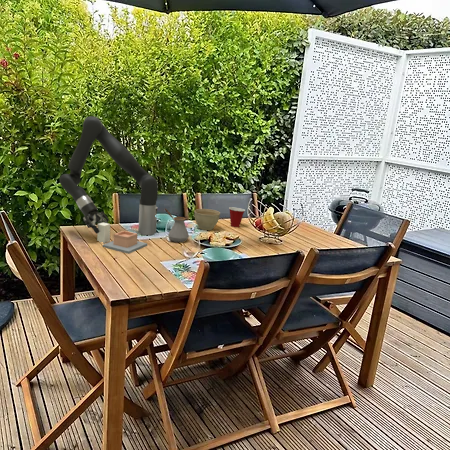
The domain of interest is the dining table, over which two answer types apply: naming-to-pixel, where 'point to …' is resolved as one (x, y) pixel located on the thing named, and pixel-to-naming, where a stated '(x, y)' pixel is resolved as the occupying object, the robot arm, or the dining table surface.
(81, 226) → the dining table surface
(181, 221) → the coffee pot
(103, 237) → the tall brick
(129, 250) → the tower base
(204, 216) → the planter bowl
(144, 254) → the dining table surface
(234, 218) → the plastic cup
